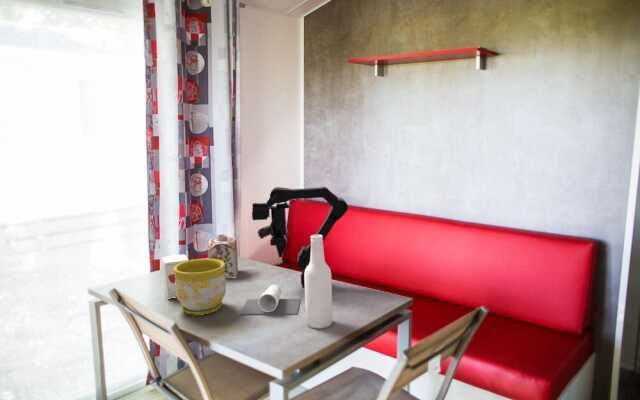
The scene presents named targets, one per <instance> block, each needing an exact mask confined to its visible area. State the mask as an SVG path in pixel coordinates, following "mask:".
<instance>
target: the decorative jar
mask: <svg viewBox="0 0 640 400" xmlns="http://www.w3.org/2000/svg"><path fill="white" fill-rule="evenodd" d="M237 248H238V247H237V240H236V239H235V238H233V237H230V236H228V235H227V234H223V233H222V234H217V235H216V237H215V238H211V239H209V241H208V246H207V252H208V254H207V255H208V257H207V259H217V260H221V261H223V262H224V263H225V268H224V270H225V272H224V275H225V278H229V277H237V278H238V272H239V265H238V250H237ZM229 279H230V278H229Z"/></svg>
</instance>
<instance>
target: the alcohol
mask: <svg viewBox="0 0 640 400" xmlns="http://www.w3.org/2000/svg"><path fill="white" fill-rule="evenodd" d="M310 243H311V256H310V263H309V265H308V266H307V267H306V269H305V273H304V280H305V288H304V306H305V308H304V309H305V323H306V325H307V326H308V327H309V328H311V329H317V330H319V329H326V328H329V327H330V326H331V324H332V323H333V299H332V298H333V296H332V295H333V293H332V292H333V291H332V290H333V289H332V272H331V268H330V266H329V265H328V264H327V263H326V261H325V260H326V259H325V253H324V252H325V251H324V241H323V236H322V235H316V234H313V235H312V234H311V236H310ZM328 326H329V327H328Z"/></svg>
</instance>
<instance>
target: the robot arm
mask: <svg viewBox="0 0 640 400" xmlns="http://www.w3.org/2000/svg"><path fill="white" fill-rule="evenodd" d="M319 198H322V199H324V201H326V202H327V203H328V204H329V205H330V208H329V211H328V213H327V217H326V218H325V220H324V221H323V223H322V224H321V226H320V227H319V229H318V230H317V232H316V233H315V235H322V236H323V242H324V241H325V240H326V238H327V237H328V235H329V233H330V232H331V230H332V228H333V227H334V226H335V224H336V222H338V221H339V220H340V219H341V218H342V217H343V216H344V215H345V214H346V213H347V212H348V210H349V207H348V206H349V205H348V203H347V202H346V200H345V199H344V198H343V197H338V196H337V195H336V194H334V193H333V192H332V191H331V190H330V189H329V188H328V187H327V186H321V187H308V188H305V187H304V188H290V187H289V188H288V187H279V186H277V187H276V186H275V187H274V188H272V189H271V191H270V193H269V198H268V199H267V200H266V202H263V203H261V202H260V203H259V202H252V208H251V209H252V212H251V218H252V221H266V220H268V218H270V217H271V219H270V220H271V221H270V225H267V226H264V227H262V228H259V229H257V234H258V235H257V236H258V237H259V238H260V240H262V239H264V238H266V237H268V236H270V240H269V241H270V246H274V247H276V252H277V254H278V255H277V256H278V257H279V258H282V257H283V255H284V252H285V249H286V246H287V243H288V237H286V236H289V229H288V228H287V220H286V219H287V218H286V214H287V212H286V209H290V207H291V205H290V204H289V203H288V202H289V201H292V200H303V199H319ZM270 215H271V216H270ZM310 256H311V242H310V243H309V244H308V245H307V246H305V245H302V247H301V248H300V251H298V253H297V266H298V268H300V269H302V272H301V273H300V285H301V287H302V288H303V289H305V280H304V273H305V269H306V267H307V266H308V265H309V263H310Z"/></svg>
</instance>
